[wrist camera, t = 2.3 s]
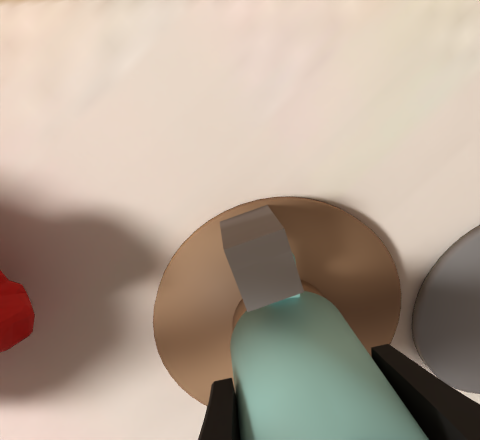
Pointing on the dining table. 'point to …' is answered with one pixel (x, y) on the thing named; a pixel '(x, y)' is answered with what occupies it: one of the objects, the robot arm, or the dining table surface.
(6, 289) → the multicoloured piece
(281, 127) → the dining table surface
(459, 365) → the coaster
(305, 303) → the kettle
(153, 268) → the dining table surface
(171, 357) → the tan wide-brim hat
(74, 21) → the dining table surface
